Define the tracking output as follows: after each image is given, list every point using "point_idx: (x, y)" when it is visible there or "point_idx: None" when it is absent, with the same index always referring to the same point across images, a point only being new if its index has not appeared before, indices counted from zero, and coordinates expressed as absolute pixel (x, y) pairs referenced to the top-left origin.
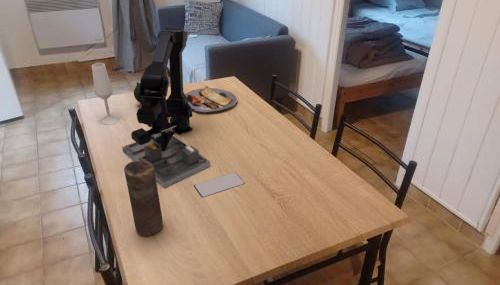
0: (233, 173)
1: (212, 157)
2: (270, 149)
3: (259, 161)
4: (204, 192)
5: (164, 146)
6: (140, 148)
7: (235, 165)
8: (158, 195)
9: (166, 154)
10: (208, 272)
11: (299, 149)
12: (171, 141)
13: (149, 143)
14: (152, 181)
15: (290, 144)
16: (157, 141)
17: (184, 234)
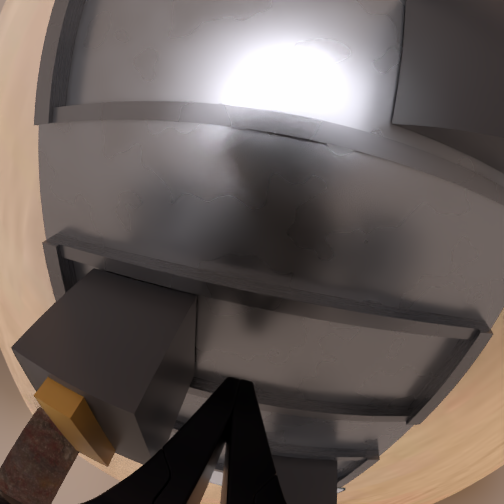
0: (338, 489)
1: (408, 441)
2: (479, 461)
3: (420, 482)
4: (214, 479)
5: (214, 464)
6: (144, 59)
7: (382, 478)
8: (55, 495)
9: (263, 364)
10: (119, 479)
11: (481, 473)
12: (485, 242)
13: (51, 409)
14: None
15: (500, 459)
16: (148, 477)
17: (114, 462)
